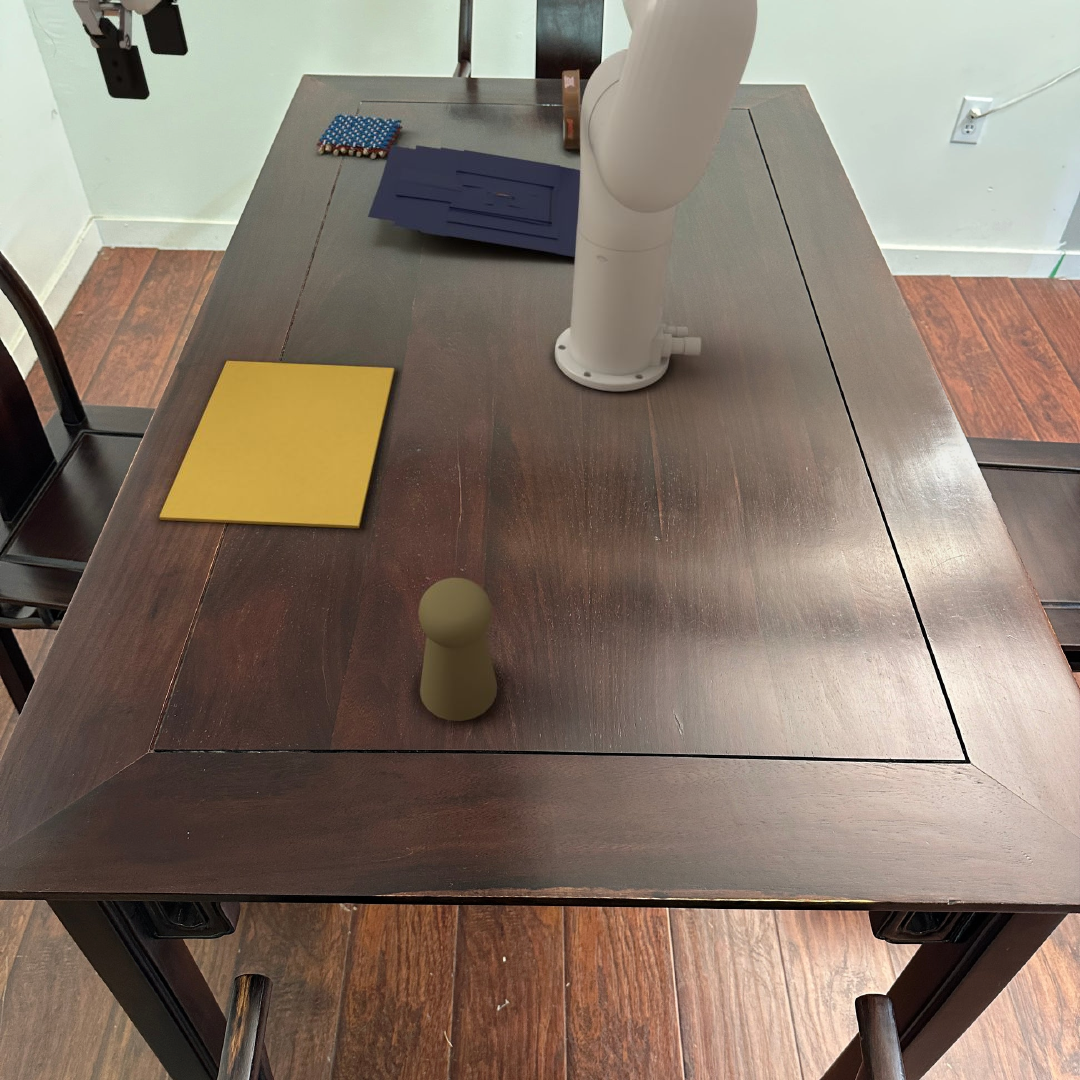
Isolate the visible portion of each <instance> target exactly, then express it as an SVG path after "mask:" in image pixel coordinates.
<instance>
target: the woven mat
mask: <svg viewBox="0 0 1080 1080" xmlns="http://www.w3.org/2000/svg"><path fill="white" fill-rule="evenodd" d="M401 124H402V120H401V119H392V117H390V118H385V119H383V118H382V117H372V116H368V117H367V116H363V115H360V116H358V115H355V116H353V114H349V115H347V114H342V113H340V114H337V115H335V116H334V119H333V120H332V121H331V123H330V124H329V125H328V126H327V129H325V130H324V133H322V135H321V137H320V138H319V139H318V142H317V143H316V147H319V149H318V150H317V152H318V153H319V155H322V154H324V152H325V151H326V152H331V151H333V153H332V154H333V155H334V156H335V157H336V156H338V155H339V154H340V152H341V153H342V154H347V153H348V155H349V156H353V155H354V153H355V151H356V157H359V158H360V157H361V155H364V156H368V155H370V158H371V160H374V159H376V157H377V155H379V156H380V158H384V157H385V156H386V154H387V153H389V151H390V148H391V145H392V144H393V143H395V139H396V138H397V135H399V133H400V131H401V130H402V129H403V126H402V125H401Z"/></svg>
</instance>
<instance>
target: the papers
mask: <svg viewBox="0 0 1080 1080" xmlns="http://www.w3.org/2000/svg"><path fill="white" fill-rule="evenodd" d="M579 192H580V169H576V168H571V167H566V166H562V165H558V164H553V163H547V162H540V161H534V160H528V159H523V158H517V157H510V156H505V155H498V154H494V153H493V154H492V153H486V152H480V151H475V150H467V149H463V150H461V149H460V150H459V149H454V148H448V147H447V148H446V147H440V148H437V147H431V146H424V145H417V144H416V145H415V148H410V147H404V146H398V145H391V146H390V149H389V152H388V155H387V159H386V161H385V166H384V168H383V172H382V176H381V179H380V182H379V184H378V187H377V190H376V193H375V196H374V198H373V200H372V204H371V207H370V209H369V212H368V215H367V217H368V218H372V219H377V220H383V221H388V222H389V221H390V222H393V226H394V227H398V228H404V229H410V230H414V231H415V230H416V231H420V233H423V234H431V235H435V236H436V235H437V236H441V237H447V238H452V237H454V238H461V239H466V240H471V241H472V240H473V241H480V242H486V243H491V244H497V245H498V244H499V245H504V246H511V247H515V248H516V247H517V248H522V249H523V248H524V249H529V250H534V251H535V250H536V251H543V252H549V253H551V254H556V255H562V256H567V257H573V258H575V251H576V235H577V224H578V209H579Z"/></svg>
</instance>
